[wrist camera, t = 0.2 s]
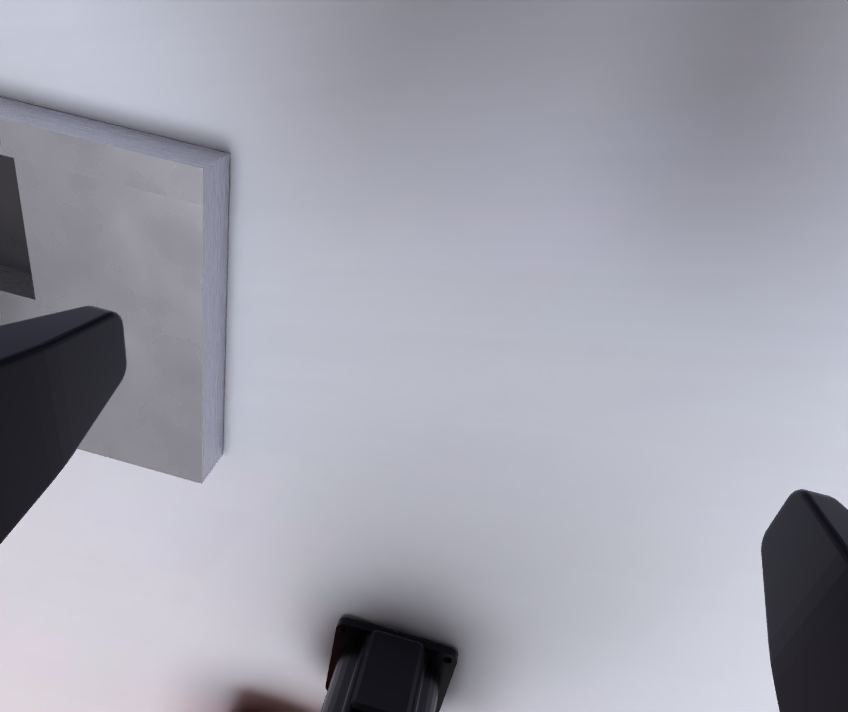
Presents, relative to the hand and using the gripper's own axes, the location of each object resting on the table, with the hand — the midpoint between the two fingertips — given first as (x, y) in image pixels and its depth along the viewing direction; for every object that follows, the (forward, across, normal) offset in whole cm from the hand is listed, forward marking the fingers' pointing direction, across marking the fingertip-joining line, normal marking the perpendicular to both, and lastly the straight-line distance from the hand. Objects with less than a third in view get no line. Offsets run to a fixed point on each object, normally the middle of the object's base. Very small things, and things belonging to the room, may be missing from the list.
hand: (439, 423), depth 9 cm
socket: (+14, +17, +9) cm, 24 cm away
